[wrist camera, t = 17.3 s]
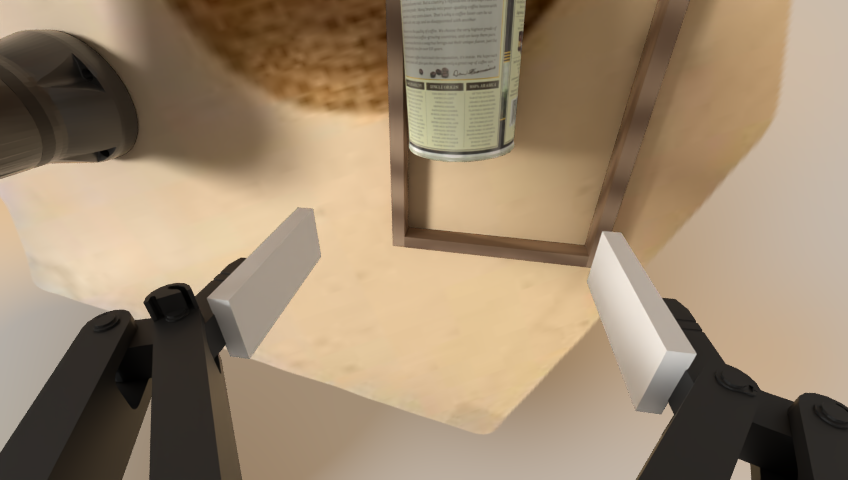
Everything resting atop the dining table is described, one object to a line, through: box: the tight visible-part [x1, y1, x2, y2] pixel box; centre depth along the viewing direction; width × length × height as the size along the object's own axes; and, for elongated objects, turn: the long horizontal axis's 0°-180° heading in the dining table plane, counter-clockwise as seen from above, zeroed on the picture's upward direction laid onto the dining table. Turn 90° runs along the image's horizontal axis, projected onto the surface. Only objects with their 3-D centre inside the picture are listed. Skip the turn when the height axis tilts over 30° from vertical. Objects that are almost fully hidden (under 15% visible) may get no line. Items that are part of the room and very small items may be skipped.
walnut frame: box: [386, 0, 690, 268], centre depth 37 cm, size 33×25×2 cm
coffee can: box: [400, 0, 526, 162], centre depth 32 cm, size 10×10×14 cm
